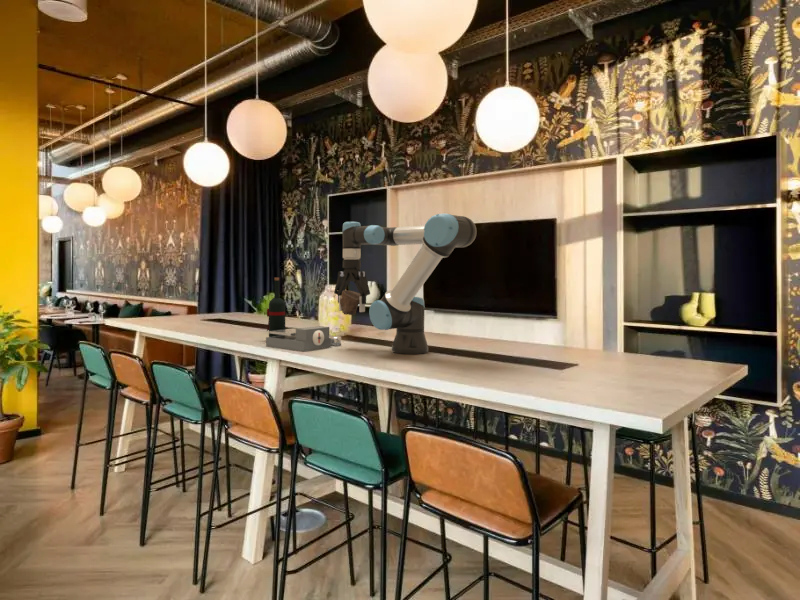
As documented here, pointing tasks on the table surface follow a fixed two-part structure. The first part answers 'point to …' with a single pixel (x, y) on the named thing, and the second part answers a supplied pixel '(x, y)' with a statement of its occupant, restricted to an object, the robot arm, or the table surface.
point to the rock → (349, 302)
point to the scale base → (302, 339)
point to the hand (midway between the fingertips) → (351, 311)
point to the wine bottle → (276, 312)
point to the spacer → (335, 341)
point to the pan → (284, 332)
